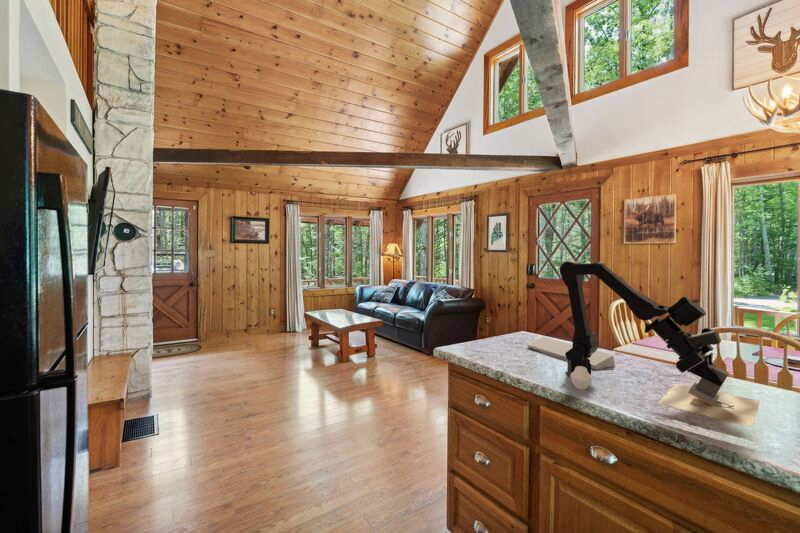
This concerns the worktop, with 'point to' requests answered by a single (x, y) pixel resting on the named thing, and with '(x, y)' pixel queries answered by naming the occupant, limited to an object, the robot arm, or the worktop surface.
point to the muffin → (581, 378)
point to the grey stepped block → (708, 387)
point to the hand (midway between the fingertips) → (722, 383)
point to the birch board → (723, 409)
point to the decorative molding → (560, 348)
